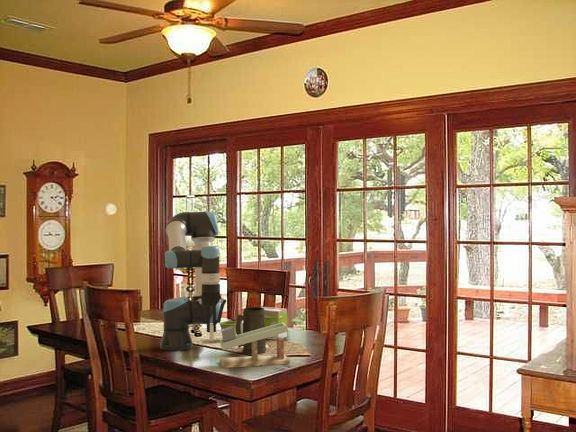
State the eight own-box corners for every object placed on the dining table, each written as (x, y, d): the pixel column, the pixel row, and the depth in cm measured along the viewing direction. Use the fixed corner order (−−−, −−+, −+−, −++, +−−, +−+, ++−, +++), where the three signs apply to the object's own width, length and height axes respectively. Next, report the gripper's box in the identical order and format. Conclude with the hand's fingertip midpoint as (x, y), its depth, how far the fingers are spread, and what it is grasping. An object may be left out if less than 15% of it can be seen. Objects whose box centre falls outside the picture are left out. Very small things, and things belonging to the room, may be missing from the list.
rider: (224, 345, 254) (221, 331, 254) (223, 343, 259) (220, 329, 259) (236, 342, 255) (233, 328, 255) (235, 339, 260) (232, 326, 260)
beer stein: (254, 347, 289) (252, 305, 288) (272, 350, 282) (269, 307, 281) (231, 355, 277) (229, 311, 276) (249, 359, 270) (246, 313, 269)
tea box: (252, 338, 312) (252, 308, 312) (262, 334, 321) (262, 306, 321) (278, 340, 305) (278, 310, 305) (287, 336, 314) (287, 307, 314)
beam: (222, 350, 252) (221, 343, 252) (221, 346, 260) (219, 339, 260) (287, 331, 258) (286, 325, 257) (284, 328, 265) (282, 322, 265)
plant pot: (235, 342, 302) (235, 324, 302) (217, 341, 304) (216, 324, 304) (240, 338, 312) (240, 321, 312) (222, 337, 313) (222, 320, 313)
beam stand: (222, 367, 251) (222, 344, 251) (220, 361, 262) (219, 339, 262) (289, 363, 256) (289, 340, 256) (285, 357, 267) (284, 335, 267)
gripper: (195, 284, 251) (196, 342, 251) (227, 283, 253) (228, 341, 253) (194, 282, 258) (195, 339, 258) (225, 281, 260) (226, 337, 260)
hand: (211, 340), depth 256 cm, fingers closed
